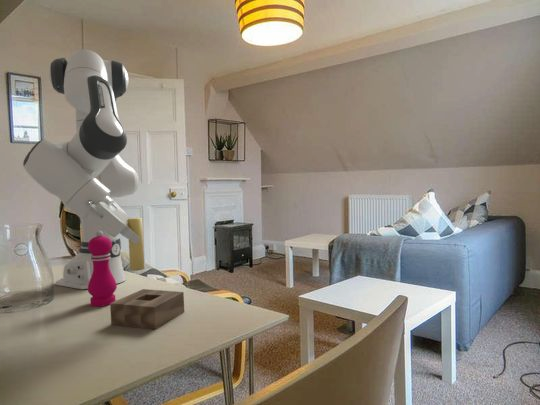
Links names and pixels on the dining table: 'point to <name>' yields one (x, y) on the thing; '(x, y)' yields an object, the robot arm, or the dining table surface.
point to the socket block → (147, 308)
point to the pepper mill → (101, 271)
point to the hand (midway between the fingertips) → (138, 239)
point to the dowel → (136, 245)
